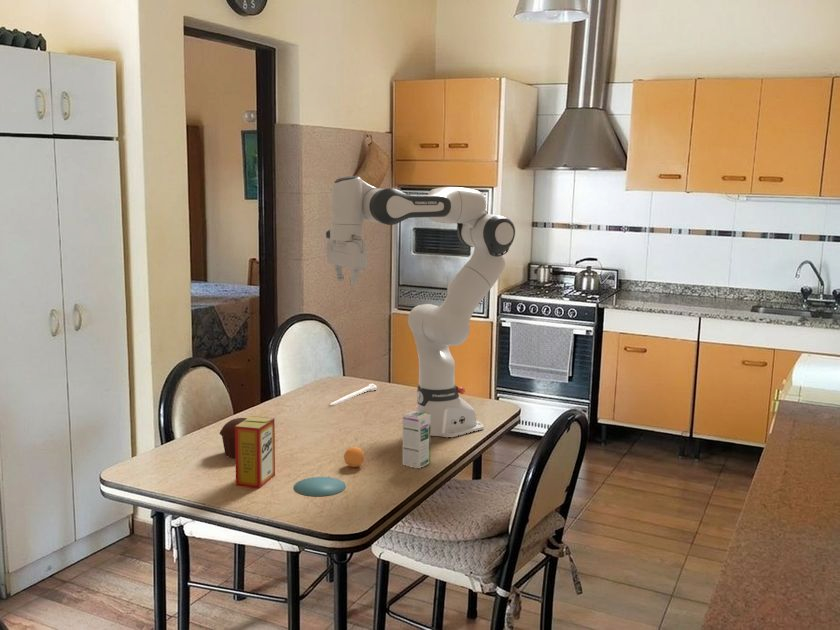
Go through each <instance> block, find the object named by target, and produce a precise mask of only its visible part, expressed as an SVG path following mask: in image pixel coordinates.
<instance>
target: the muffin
mask: <svg viewBox="0 0 840 630" xmlns="http://www.w3.org/2000/svg"><path fill="white" fill-rule="evenodd" d="M248 418H249V417H247V418H245V417H237V418H233V419H230V420H229V421H227V422H226V423H225V424H224V425H223V426H222V428H221V430H220V431H219V434H220V436H221V439H222V443H223V448H224V454H225V457H227V456H228V458H229V459H235V426H236V425H238V424H239V423H241V422H243V421H244V420H246V419H248Z"/></svg>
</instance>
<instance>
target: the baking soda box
mask: <svg viewBox="0 0 840 630" xmlns="http://www.w3.org/2000/svg"><path fill="white" fill-rule="evenodd" d="M247 418H248V419H246V420H244V421H243V422H241V423H239V424H238V425H236V426H235V458H234V460H235V461H234V462H235V486H236V487H244V488H251V489H252V488H253V489H261V488H262V487H263V486H265V485H266V484H267V483H269V481H270V480H272V479H273V478H274V477H276V454H275V453H276V444H275V443H276V441H275V440H276V439H275V437H276V436H275V435H276V434H275V429H276V428H275V418H274V417H265V416H264V417H263V416H253V415H251V416H248V417H247ZM271 478H272V479H271Z"/></svg>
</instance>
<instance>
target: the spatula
mask: <svg viewBox="0 0 840 630" xmlns="http://www.w3.org/2000/svg"><path fill="white" fill-rule="evenodd" d="M377 389H378V388H377V385H376V384H374V383H369V384H368V385H367V386H365V387H363V388H361V389H359V390H357V391H354V392H351V393H350V394H347V395H345V396H343V397H340V398H339V399H337V400H335V401H332V402H330V403H329V407H333V406H336V405H339V404H342V403H344V402H346V400H347V401H348V399H349V400H350V399H352V397H353V398H355V397H357V395H358V396H360V395H362V393H363V394H364V392H365V393H368V392H375V391H374V390H376V391H377ZM367 391H368V392H367ZM359 394H360V395H359ZM354 396H355V397H354ZM341 402H342V403H341Z"/></svg>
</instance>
